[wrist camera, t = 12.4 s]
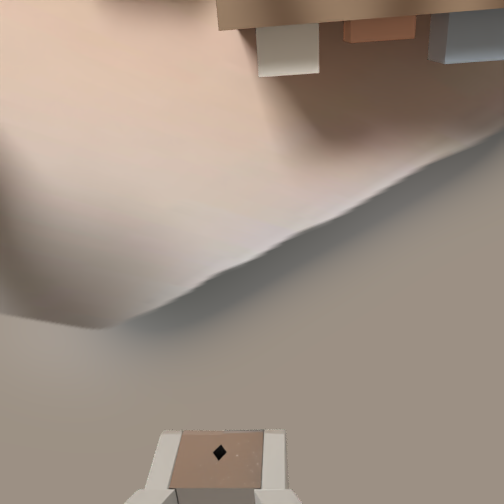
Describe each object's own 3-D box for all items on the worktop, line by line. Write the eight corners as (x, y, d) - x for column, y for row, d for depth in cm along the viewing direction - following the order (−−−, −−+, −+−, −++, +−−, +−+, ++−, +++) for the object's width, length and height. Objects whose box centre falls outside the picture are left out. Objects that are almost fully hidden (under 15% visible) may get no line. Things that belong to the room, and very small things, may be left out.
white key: (261, 71, 35) (258, 77, 31) (255, -22, 32) (252, -27, 29) (315, 67, 35) (319, 73, 31) (314, -27, 32) (318, -33, 28)
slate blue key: (427, 59, 34) (444, 64, 30) (435, -38, 31) (455, -46, 28) (485, 55, 34) (509, 59, 30) (498, -44, 31) (526, -52, 27)
